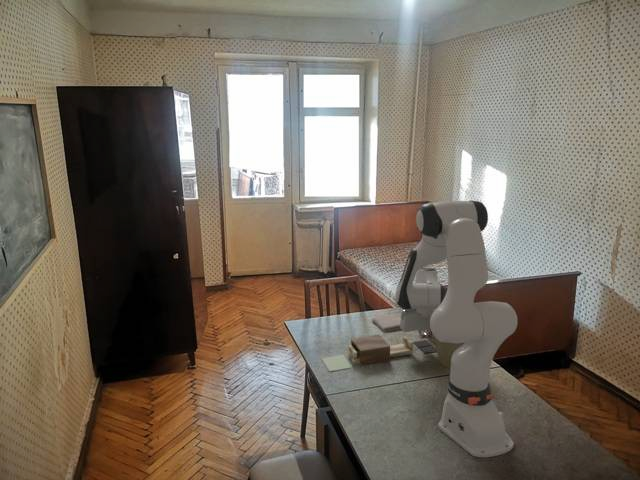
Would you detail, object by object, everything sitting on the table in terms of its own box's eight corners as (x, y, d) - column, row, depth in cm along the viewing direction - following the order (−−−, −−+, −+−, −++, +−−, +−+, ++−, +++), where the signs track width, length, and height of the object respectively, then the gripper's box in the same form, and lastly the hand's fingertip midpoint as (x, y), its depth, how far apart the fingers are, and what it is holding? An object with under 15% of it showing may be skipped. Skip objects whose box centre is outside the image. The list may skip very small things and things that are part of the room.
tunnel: (389, 361, 178) (390, 346, 176) (361, 366, 174) (361, 351, 173) (378, 349, 187) (378, 334, 186) (351, 353, 184) (351, 338, 182)
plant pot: (448, 350, 186) (450, 314, 182) (478, 366, 174) (482, 327, 170) (421, 361, 178) (423, 323, 174) (451, 378, 166) (454, 338, 162)
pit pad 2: (438, 351, 185) (438, 350, 185) (425, 353, 183) (425, 353, 183) (432, 346, 189) (432, 345, 189) (419, 348, 187) (419, 348, 187)
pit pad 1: (431, 345, 190) (431, 344, 190) (418, 347, 188) (418, 347, 188) (425, 340, 194) (425, 339, 194) (413, 342, 193) (413, 342, 192)
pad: (352, 367, 174) (352, 367, 174) (329, 371, 171) (329, 371, 171) (343, 355, 183) (343, 354, 183) (321, 358, 180) (321, 358, 180)
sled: (412, 353, 183) (413, 342, 182) (353, 363, 176) (354, 352, 175) (405, 346, 188) (405, 336, 187) (348, 356, 181) (348, 345, 180)
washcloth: (419, 327, 208) (419, 320, 207) (383, 333, 202) (383, 327, 201) (405, 317, 219) (405, 311, 218) (371, 322, 213) (371, 316, 212)
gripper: (405, 312, 177) (403, 345, 181) (451, 306, 183) (449, 337, 187) (397, 306, 183) (396, 338, 187) (442, 300, 189) (440, 330, 193)
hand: (423, 337), depth 187 cm, fingers closed
